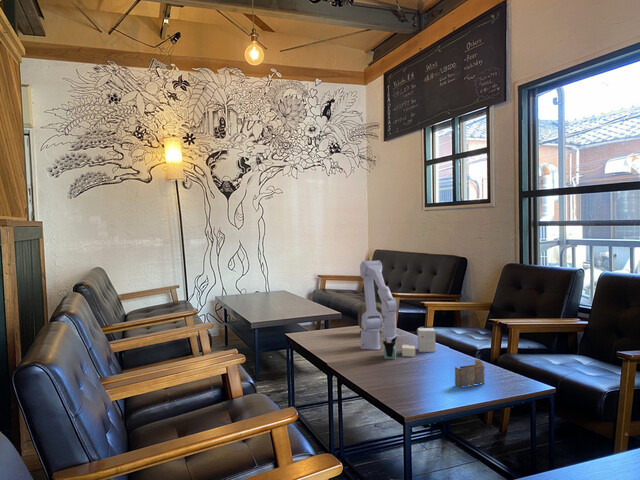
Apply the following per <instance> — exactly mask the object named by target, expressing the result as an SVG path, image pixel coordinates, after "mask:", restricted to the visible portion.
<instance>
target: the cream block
mask: <svg viewBox="0 0 640 480" xmlns="http://www.w3.org/2000/svg"><path fill="white" fill-rule="evenodd" d="M401 349H402V350H401V352H402V353H401V356H402V357H416V345H413V344H402V347H401Z"/></svg>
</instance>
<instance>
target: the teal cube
mask: <svg viewBox="0 0 640 480" xmlns="http://www.w3.org/2000/svg"><path fill="white" fill-rule="evenodd" d="M383 351H384V354H383V355H384V357H383V359H387V360H396V358H397V346H396V345H394V348H393V354H392V357H387V353H386V348H385V347H384V349H383Z"/></svg>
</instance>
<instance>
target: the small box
mask: <svg viewBox="0 0 640 480" xmlns="http://www.w3.org/2000/svg"><path fill="white" fill-rule="evenodd" d="M417 350H418V351H419V352H421V353H435V352H436V350H437V349H436V330H435V329H434V328H433V327H431V328H430V327H418V328H417Z"/></svg>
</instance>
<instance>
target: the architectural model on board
mask: <svg viewBox="0 0 640 480" xmlns="http://www.w3.org/2000/svg"><path fill="white" fill-rule="evenodd" d="M473 360H474V364H469V365H461V366H459V367H456V366H455V367H454V386H455V385H456V387H457V386H458V387H462V386H468V385H474V384H480V383H484V384H485V365H484V362H482V361H481V359H475V358H474V359H473ZM458 387H457V388H458ZM462 388H463V387H462Z"/></svg>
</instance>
